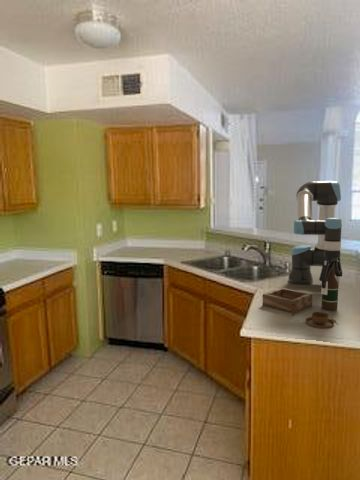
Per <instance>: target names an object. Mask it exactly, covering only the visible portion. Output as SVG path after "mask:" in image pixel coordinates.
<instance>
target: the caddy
mask: <svg viewBox="0 0 360 480" xmlns="http://www.w3.org/2000/svg"><path fill="white" fill-rule="evenodd" d="M291 304H296V309H295V310H294V314H296V313H298V312H300V311H302V310H304V309H306V308H309V307H311V306H313V293H309V292H304V291H300V290H295V289H291V288H286V287H279V288H277V289H274V290H270V291H267V292H265V293H262V306H263V307H267V308H271V309H275V310H280V311H282V312H287V313H291V314H292V310H291V308H290V305H291Z"/></svg>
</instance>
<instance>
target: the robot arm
mask: <svg viewBox="0 0 360 480" xmlns="http://www.w3.org/2000/svg"><path fill="white" fill-rule="evenodd" d="M340 186H341V185H340V182H339V181H336V180H317V181H313V180H312V181H308V182H305V183H303V184H302V185H301V186H300V187H299V188H298V190H297V191H296V194H295V199H296V202H297V219H295V220H294V221H293V234H295V235H306V236H307V235H309V236H311V235H312V236H313V235H315V236H317V243H315V245H314V247H312V245H311V244H303V245H297V246H293V248H292V249H291V269H290V271H289V274H288V279H287V280H288V282H289V283H291V284H296V285H311V284H312V283H314V278H313V274H312V271H311V267H321V270H320V273H319V278H318V279H319V282H321V287H320V288H321V292H320V294H321V295H322V294H324V295H327V290H328V281H327V279H328V277H329V274H330V271H331V270H332V269H333V266H334V265H335V278H336V280H337V282H338V290H340V289H341V287H340V286H341V277H343V270H342V263H341V248H342V241H341V240H342V227H343V223H342V222H343V221H342V218H339V217H335V209H336V206H338V203H339V202H341V199H342V195H341V193H342V192H341V187H340ZM312 202H316V204H317V205H318V207H319V208H318V210H319V211H318V219H315V220H313V206H312V205H313V203H312Z"/></svg>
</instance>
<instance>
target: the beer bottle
mask: <svg viewBox="0 0 360 480" xmlns="http://www.w3.org/2000/svg"><path fill="white" fill-rule="evenodd" d="M327 281H328V290H327V295H324V294H321V309H322V310H324V311H328V312H329V311H331V312H334V311H337V310H338V301H339V297H338V296H339V289H338V282H337V280H336V278H335V265H334V266H333V269H332V270H331V271H330V274H329V277H328V279H327Z"/></svg>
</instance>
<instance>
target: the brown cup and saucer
mask: <svg viewBox="0 0 360 480" xmlns="http://www.w3.org/2000/svg"><path fill="white" fill-rule="evenodd" d="M290 308H291V310H292V313H291V316H293V317H294V316H295V313H294V310H295V309H296V304H291V305H290ZM310 321H312V322H313V323H314V324H313V323H310ZM294 322H297V319H295V320H294ZM305 323H306V325H308V326H309V327H312V328H317V329H330V328H332V327H334V325H335V324H336V325H338V326H340V324H339V323H338V322H337V321H336V320H335V319H333V318H331V319H330V318H329V315H328V313H325V312H321V311H314V312H312V313H311V316H310V317H308V318H305ZM327 323H329V325H325V324H327Z"/></svg>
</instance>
